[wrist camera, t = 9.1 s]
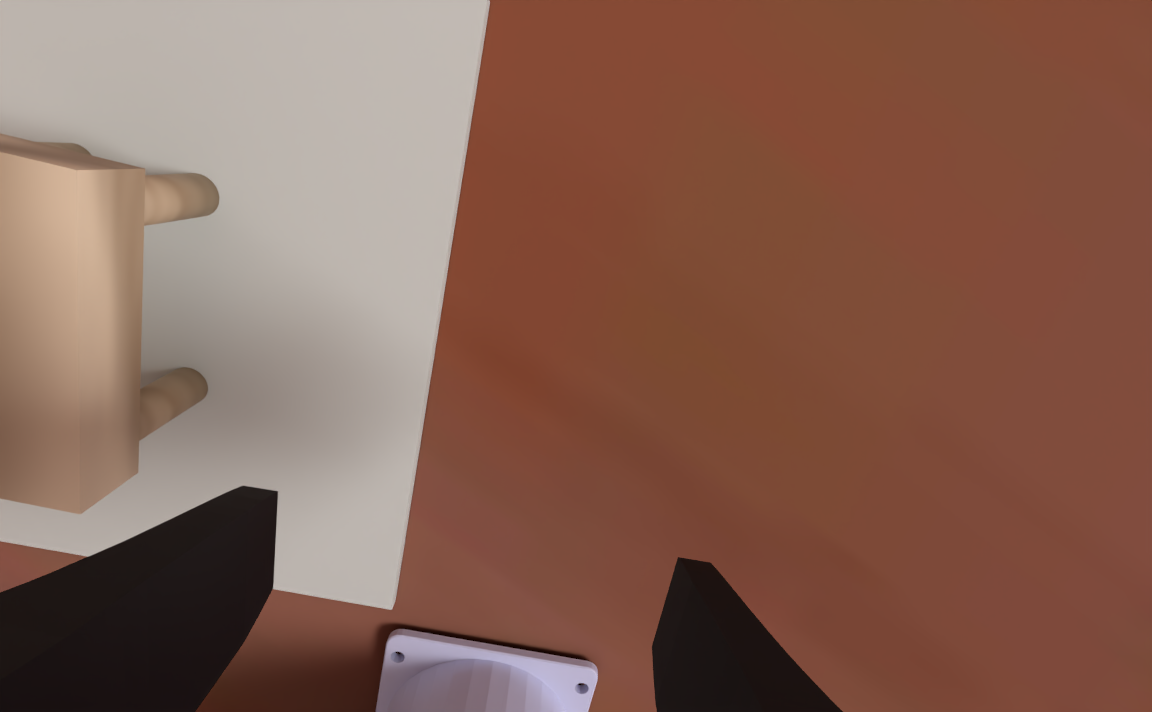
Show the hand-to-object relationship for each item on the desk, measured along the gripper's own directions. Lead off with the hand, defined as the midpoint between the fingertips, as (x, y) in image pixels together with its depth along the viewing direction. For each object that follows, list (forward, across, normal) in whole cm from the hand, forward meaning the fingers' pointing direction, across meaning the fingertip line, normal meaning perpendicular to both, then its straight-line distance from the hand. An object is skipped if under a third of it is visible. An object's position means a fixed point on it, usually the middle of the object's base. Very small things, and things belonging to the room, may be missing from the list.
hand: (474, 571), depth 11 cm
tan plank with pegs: (+9, +12, -1) cm, 15 cm away
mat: (+9, +12, -1) cm, 15 cm away
